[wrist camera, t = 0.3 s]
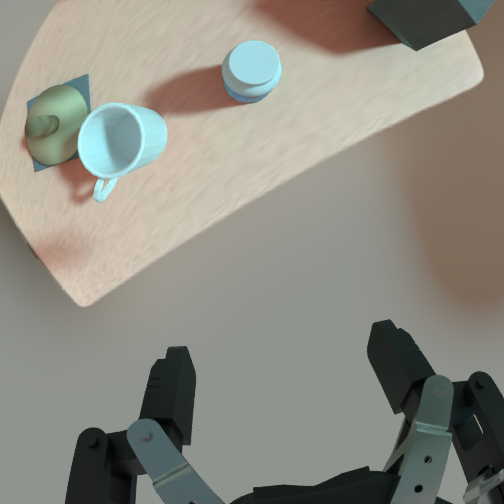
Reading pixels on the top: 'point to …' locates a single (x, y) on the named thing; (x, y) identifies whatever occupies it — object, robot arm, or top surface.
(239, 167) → the top surface
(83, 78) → the mat
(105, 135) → the mug
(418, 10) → the planter
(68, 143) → the lid
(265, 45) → the pill bottle
